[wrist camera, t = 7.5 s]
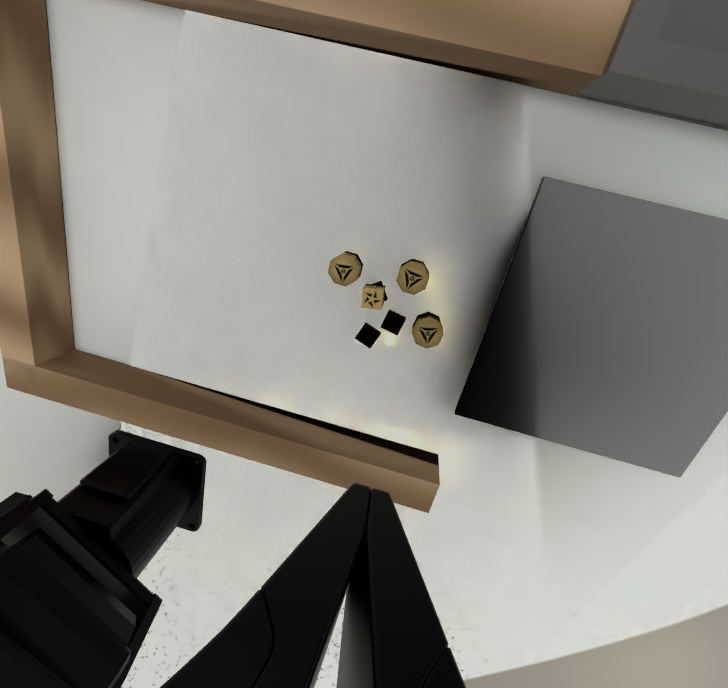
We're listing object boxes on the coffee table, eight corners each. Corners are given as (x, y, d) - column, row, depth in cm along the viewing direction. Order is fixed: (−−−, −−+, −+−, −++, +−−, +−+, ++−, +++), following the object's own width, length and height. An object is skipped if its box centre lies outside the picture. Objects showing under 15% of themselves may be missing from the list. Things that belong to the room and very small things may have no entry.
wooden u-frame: (428, 480, 22) (428, 513, 20) (48, 369, 24) (7, 387, 21) (596, 34, 14) (631, 0, 12) (-6, -94, 15) (-82, -146, 13)
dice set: (334, 251, 19) (325, 256, 17) (436, 239, 18) (437, 242, 16) (348, 344, 21) (341, 357, 19) (442, 337, 20) (444, 350, 18)
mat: (676, 473, 20) (680, 477, 19) (454, 411, 20) (454, 414, 20) (836, 246, 15) (844, 247, 15) (542, 177, 16) (545, 176, 15)
